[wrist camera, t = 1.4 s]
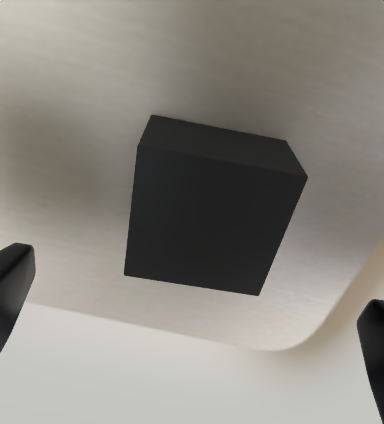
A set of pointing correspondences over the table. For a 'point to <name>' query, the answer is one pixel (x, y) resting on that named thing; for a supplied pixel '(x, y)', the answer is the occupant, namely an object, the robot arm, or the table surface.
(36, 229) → the table surface
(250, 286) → the black block
